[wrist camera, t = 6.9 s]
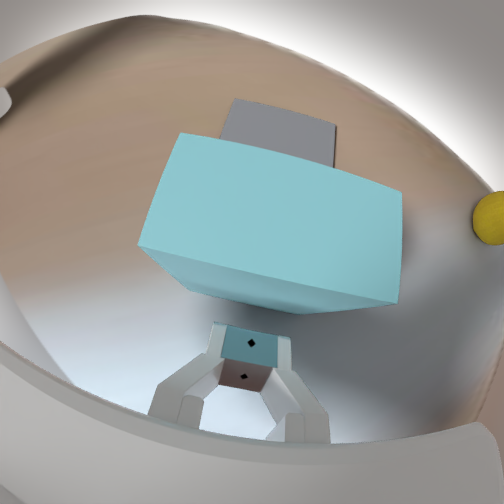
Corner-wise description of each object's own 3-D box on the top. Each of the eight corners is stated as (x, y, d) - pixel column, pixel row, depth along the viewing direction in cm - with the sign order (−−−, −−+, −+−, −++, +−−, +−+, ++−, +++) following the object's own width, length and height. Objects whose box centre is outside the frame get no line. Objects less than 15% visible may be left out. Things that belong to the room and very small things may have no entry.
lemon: (465, 252, 22) (519, 231, 15) (455, 204, 24) (503, 175, 16) (489, 252, 23) (536, 234, 15) (480, 209, 24) (523, 185, 16)
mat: (322, 251, 20) (323, 250, 20) (193, 221, 20) (192, 219, 20) (334, 126, 24) (335, 124, 23) (234, 101, 23) (234, 98, 23)
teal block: (298, 314, 19) (397, 303, 8) (189, 290, 19) (137, 245, 7) (307, 261, 20) (401, 192, 9) (202, 237, 20) (180, 132, 8)
